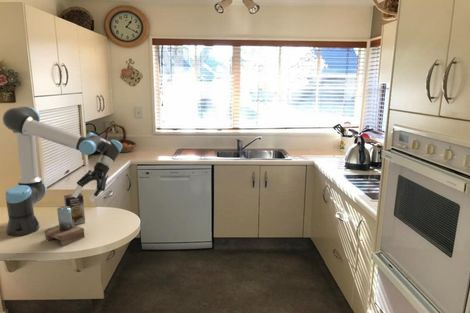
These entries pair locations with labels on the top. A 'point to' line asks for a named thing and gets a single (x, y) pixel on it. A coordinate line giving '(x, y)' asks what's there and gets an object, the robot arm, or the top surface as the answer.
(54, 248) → the top surface
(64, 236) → the walnut shelf
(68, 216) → the clear cup
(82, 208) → the coffee box
